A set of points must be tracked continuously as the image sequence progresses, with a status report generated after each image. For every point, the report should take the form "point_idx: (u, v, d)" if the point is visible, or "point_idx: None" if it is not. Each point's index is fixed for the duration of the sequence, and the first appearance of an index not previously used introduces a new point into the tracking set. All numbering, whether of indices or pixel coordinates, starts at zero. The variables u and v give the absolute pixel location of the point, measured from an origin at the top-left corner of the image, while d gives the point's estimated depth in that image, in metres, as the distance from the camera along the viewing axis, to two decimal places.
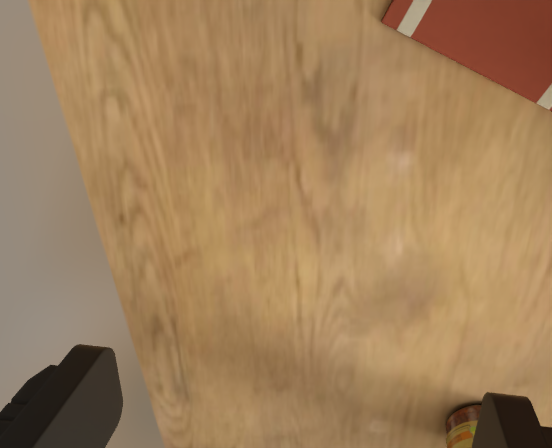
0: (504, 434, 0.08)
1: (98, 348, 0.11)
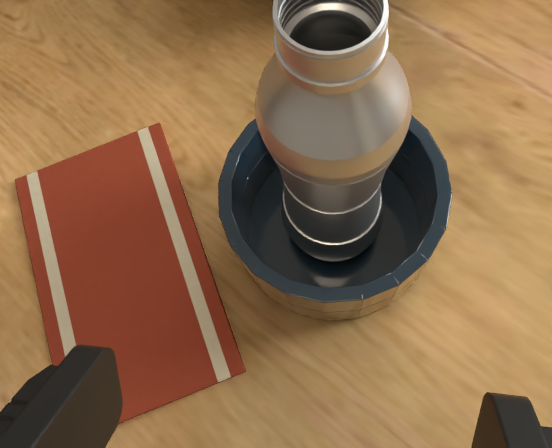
0: (504, 434, 0.08)
1: (98, 348, 0.11)
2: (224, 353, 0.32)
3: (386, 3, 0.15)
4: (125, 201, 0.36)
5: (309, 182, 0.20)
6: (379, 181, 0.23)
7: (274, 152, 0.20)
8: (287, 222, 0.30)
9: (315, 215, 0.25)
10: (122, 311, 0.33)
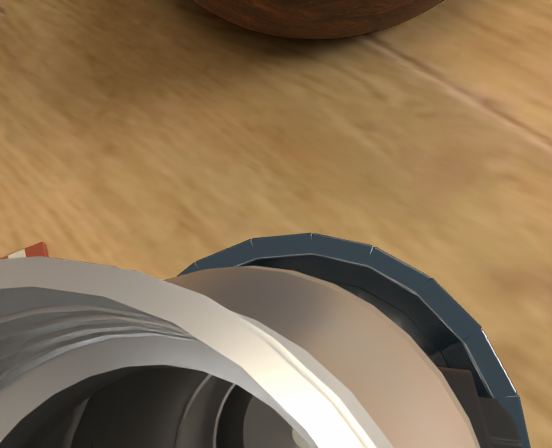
0: None
1: None
2: None
3: None
4: None
5: None
6: None
7: None
8: None
9: None
10: None
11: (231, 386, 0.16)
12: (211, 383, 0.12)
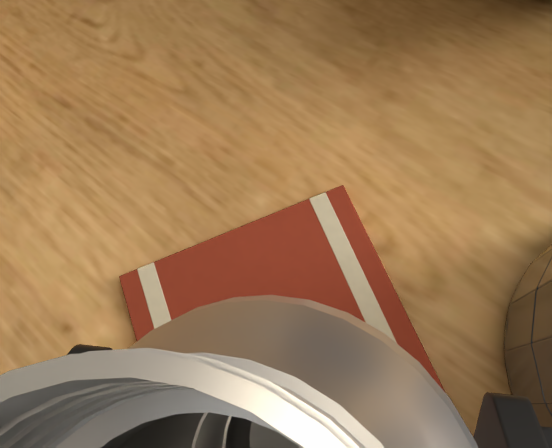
0: (504, 434, 0.08)
1: (98, 348, 0.11)
2: None
3: None
4: None
5: None
6: None
7: None
8: None
9: None
10: None
11: None
12: None
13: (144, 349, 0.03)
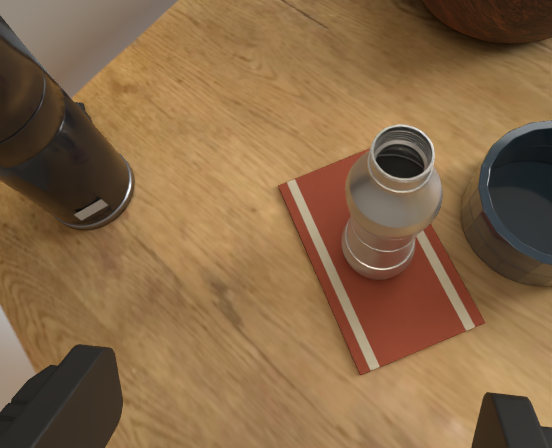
0: (504, 434, 0.08)
1: (98, 348, 0.11)
2: (467, 310, 0.44)
3: (433, 151, 0.28)
4: None
5: (379, 237, 0.33)
6: None
7: (360, 220, 0.32)
8: (348, 253, 0.43)
9: (374, 251, 0.38)
10: (383, 281, 0.46)
11: None
12: None
13: None
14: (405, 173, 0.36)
